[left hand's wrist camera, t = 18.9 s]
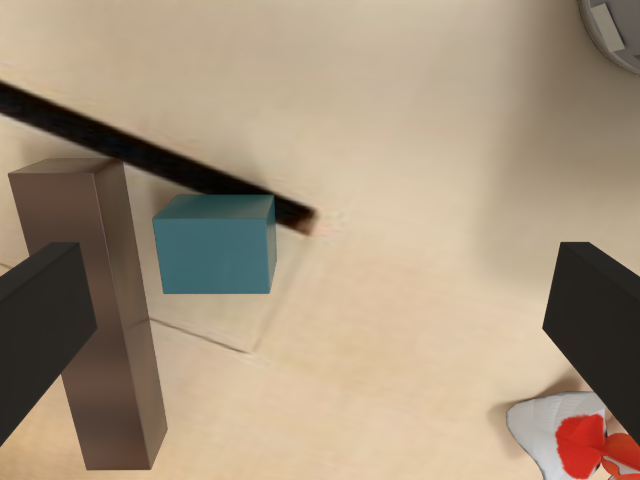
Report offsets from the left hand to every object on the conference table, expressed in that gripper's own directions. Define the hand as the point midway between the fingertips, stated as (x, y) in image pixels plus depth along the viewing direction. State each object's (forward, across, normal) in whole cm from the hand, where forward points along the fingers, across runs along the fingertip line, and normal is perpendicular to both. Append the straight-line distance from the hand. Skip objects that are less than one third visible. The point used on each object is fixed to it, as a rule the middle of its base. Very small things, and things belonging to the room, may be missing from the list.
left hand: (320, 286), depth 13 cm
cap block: (+25, -8, -8) cm, 27 cm away
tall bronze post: (+25, -19, -16) cm, 35 cm away
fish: (+25, +25, -28) cm, 45 cm away
